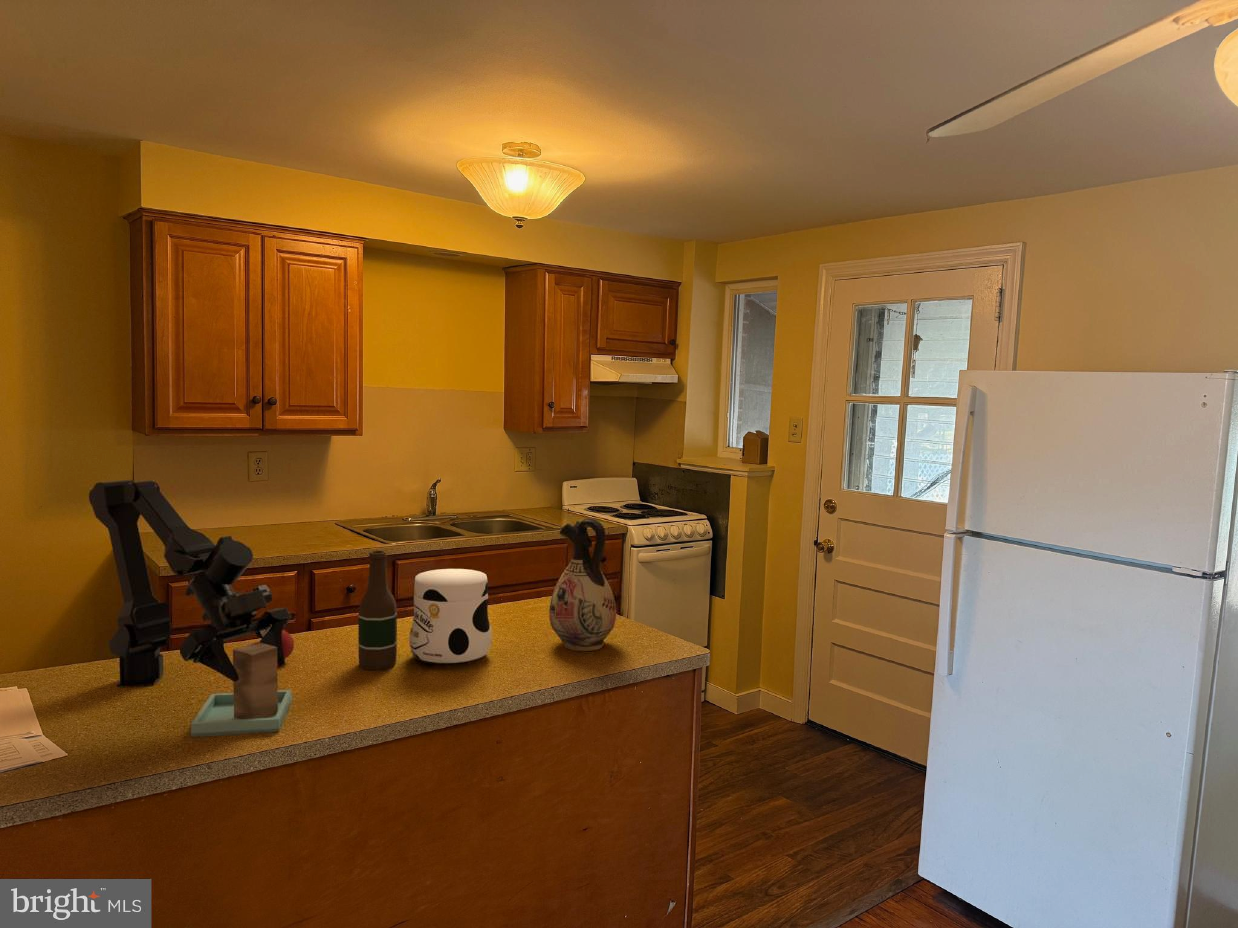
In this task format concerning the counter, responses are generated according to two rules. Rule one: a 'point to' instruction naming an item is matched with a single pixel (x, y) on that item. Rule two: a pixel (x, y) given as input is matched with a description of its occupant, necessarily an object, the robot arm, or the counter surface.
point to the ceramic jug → (583, 593)
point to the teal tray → (221, 718)
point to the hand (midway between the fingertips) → (260, 672)
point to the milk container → (450, 617)
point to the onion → (287, 643)
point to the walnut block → (255, 681)
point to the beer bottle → (377, 619)
